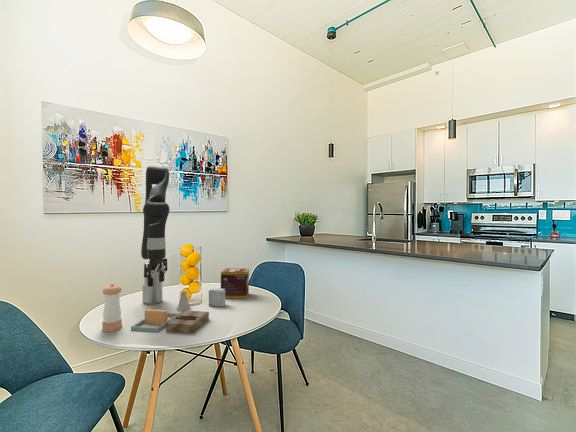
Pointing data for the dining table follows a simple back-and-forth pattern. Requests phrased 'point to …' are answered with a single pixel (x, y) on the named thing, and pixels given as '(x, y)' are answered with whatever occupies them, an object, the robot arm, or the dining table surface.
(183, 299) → the flask
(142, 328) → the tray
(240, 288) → the supplement box
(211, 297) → the grey cube
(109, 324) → the pepper shaker
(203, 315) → the slotted wooden block
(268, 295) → the dining table surface
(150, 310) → the tan rectangular block
